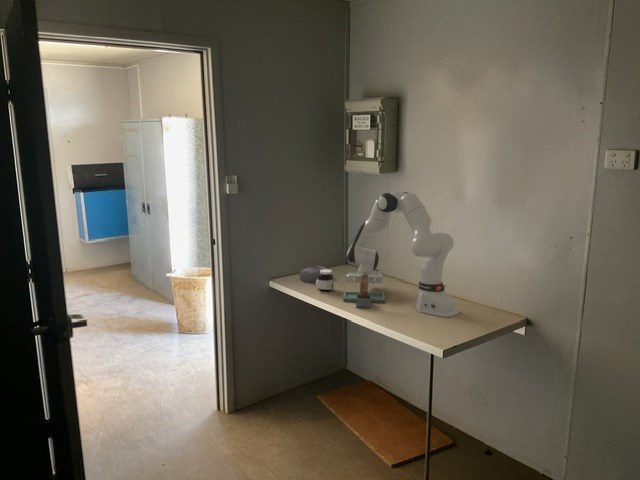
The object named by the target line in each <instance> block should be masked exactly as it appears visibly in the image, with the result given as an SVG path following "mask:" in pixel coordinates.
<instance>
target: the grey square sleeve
mask: <svg viewBox="0 0 640 480" xmlns="http://www.w3.org/2000/svg"><path fill="white" fill-rule="evenodd" d="M371 307H372V303H371V295H368V298H360V294H357V296H356V302H355V308H356V309H372V308H371Z"/></svg>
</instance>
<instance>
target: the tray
mask: <svg viewBox="0 0 640 480" xmlns="http://www.w3.org/2000/svg"><path fill="white" fill-rule="evenodd" d="M357 294H360V291H344V293H343V300H342V301H343V302H348V303H356V296H357ZM368 295H371V304H372V303H374V304H385V303H386V301H385V299H386V297H385V292H369V291H368Z"/></svg>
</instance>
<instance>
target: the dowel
mask: <svg viewBox="0 0 640 480" xmlns="http://www.w3.org/2000/svg"><path fill="white" fill-rule="evenodd" d="M359 292H360V298H368V292H369V283H368V275H367V274H361V275H360V282H359Z"/></svg>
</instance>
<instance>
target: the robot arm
mask: <svg viewBox="0 0 640 480" xmlns="http://www.w3.org/2000/svg"><path fill="white" fill-rule="evenodd" d="M392 213H403V215H404V217H405V220H406V221H407V223H408V225H409V228H410V229H411V231H412V232H411V233H412V240H411V243H410V250H411V252H412V253H413V254H414V255H415V256H416V257H420V258H425V259H424V261H423V262H422V263H421V265H420V269H419V271H420V272H419V281H418V294H417V295H418V296H417V301H416V304H415V309H417V312H418V313H421V314H427V315H432V316H436V317H441V318H451V317H454V316H456V315H459V313H461V310H460V308H457V307H456V301H455V299H454V298H453V297H452V296H451V295H450V294H449V293H448V292H447V291H446V289H445V288H446V287H447V284H444V283H443V271H444V264H445V262H446V259H447V256H448V254H449V253H450V251H451V250H452V249H453V248H454V245H455V244H454V243H455V242H454V238H453V237H452V235H450V234H449V233H447V232H435V233H432V231H431V229H430V226H431V225H432V219H431V216H430V214H429V212H428V211H427V209H426V207H425V205H424V204H423V202H422V201H421V200H420V198H419V197H418V196H417V194H416V193H413V192H408V191H407V192H406V191H391V192H384V193H381V194H380V195H379V196H378V197H377V199H376V200H375V202H374V203H373V206H372V209H371V211H370V215H369V217H368V219H366V220H364V221H363V222H362V223H361V224H360V226H359V228H358V230H357V232H356V235H355V236H354V238H353V241H352V243H351V245H350V246H349V248H348V250H347V253H346V259H347V260H348V261H349V263H354V264H360V265H359V267H358V269H357V272H348V273H347V274H346V282H348V283H355V284H358V283H360V275H361V274H367V275H368V284H369V283H371V284H375V283H378V284H379V283H381V284H383V283H384V274H383V273H382V272H381V269H377V268H378V266H379V261H380V260H379V258H380V255H379V253H378V251H377V250H375V249H371V248H366V247H361V246H360V244H361V242H362V239H363V238H364V237H365V235H368V234H374V233H375V234H376V233H381V232H382V231H384V230H386V229H387V227H388V226H389V222H390V219H391V215H392Z"/></svg>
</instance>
